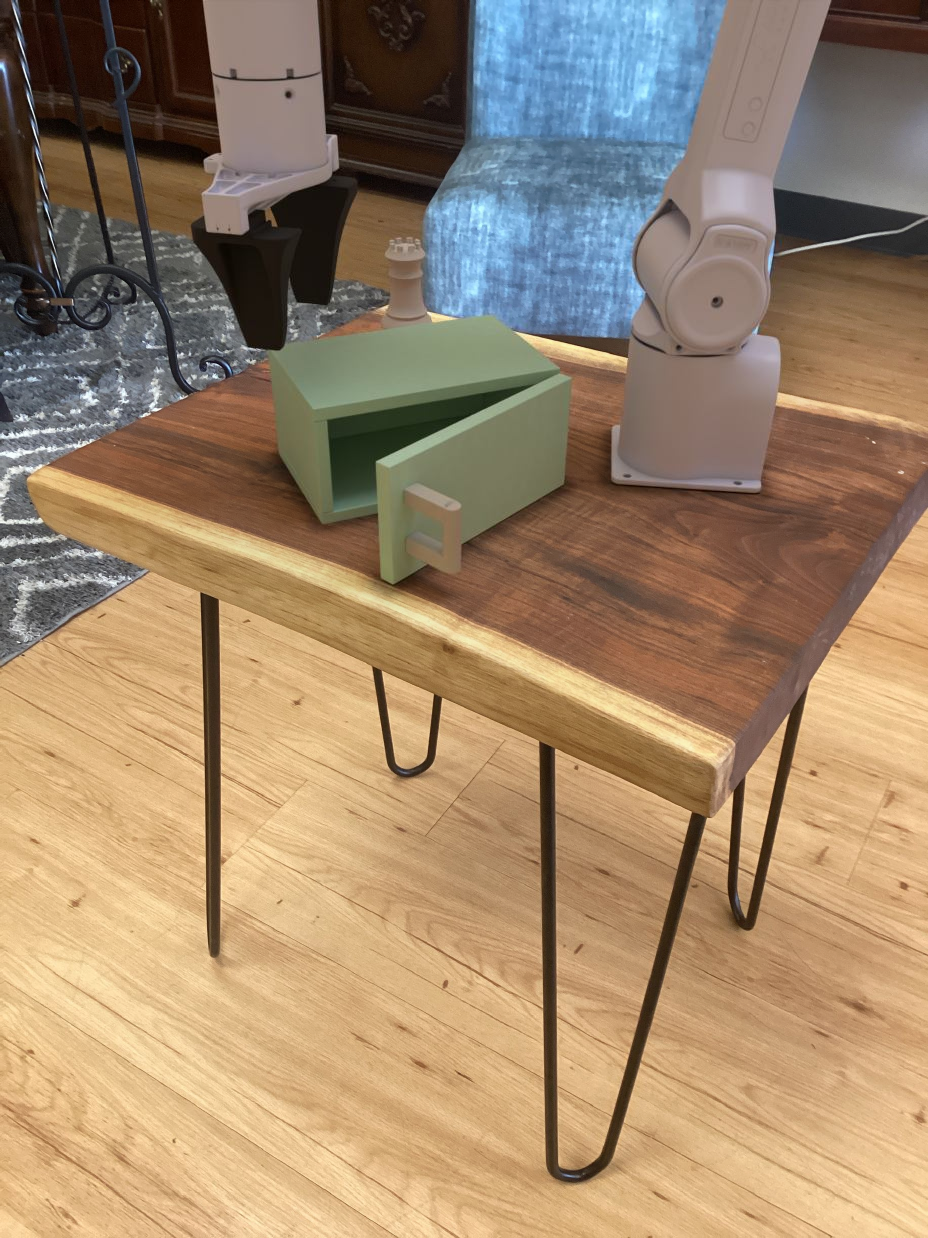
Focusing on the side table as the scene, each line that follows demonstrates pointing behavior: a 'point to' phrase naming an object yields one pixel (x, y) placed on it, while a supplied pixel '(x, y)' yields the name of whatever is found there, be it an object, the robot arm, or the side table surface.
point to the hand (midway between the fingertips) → (290, 323)
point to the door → (470, 478)
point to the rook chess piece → (405, 285)
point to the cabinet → (387, 399)
